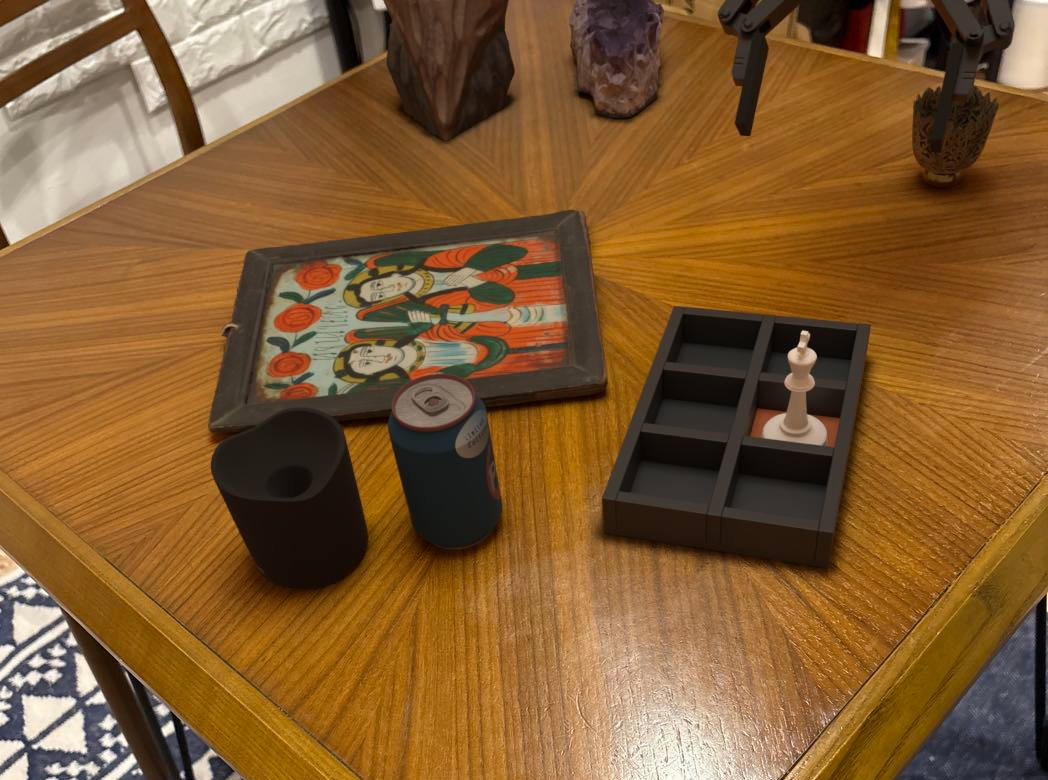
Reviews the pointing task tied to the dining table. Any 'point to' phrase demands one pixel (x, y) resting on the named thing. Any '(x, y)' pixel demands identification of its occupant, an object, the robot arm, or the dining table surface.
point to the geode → (617, 53)
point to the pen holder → (294, 497)
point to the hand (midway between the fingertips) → (836, 138)
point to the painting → (413, 320)
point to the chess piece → (798, 402)
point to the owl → (449, 61)
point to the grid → (738, 438)
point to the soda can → (445, 460)
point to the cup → (951, 135)
